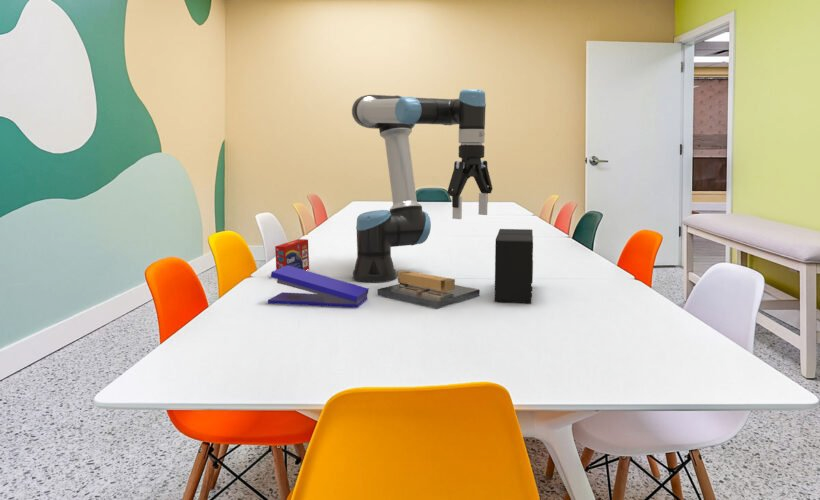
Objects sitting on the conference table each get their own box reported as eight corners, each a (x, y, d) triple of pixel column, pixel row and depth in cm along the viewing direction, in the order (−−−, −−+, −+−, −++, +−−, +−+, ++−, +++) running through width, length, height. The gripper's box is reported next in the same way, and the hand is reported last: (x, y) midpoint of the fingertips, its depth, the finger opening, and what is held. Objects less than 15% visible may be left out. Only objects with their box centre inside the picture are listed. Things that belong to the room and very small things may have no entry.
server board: (377, 295, 179) (377, 286, 179) (420, 284, 194) (420, 276, 194) (437, 308, 163) (437, 299, 163) (479, 295, 178) (479, 287, 177)
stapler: (283, 295, 181) (281, 264, 180) (369, 299, 175) (369, 267, 174) (266, 305, 170) (264, 272, 169) (358, 309, 164) (357, 275, 163)
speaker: (532, 304, 168) (533, 240, 165) (494, 302, 170) (495, 239, 167) (531, 285, 192) (533, 229, 189) (498, 284, 194) (499, 228, 191)
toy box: (299, 269, 222) (298, 239, 220) (309, 269, 221) (308, 239, 219) (276, 278, 205) (275, 246, 203) (286, 279, 204) (285, 246, 202)
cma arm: (395, 282, 183) (395, 272, 183) (404, 280, 186) (404, 270, 186) (446, 292, 170) (446, 281, 169) (454, 289, 172) (454, 279, 172)
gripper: (457, 144, 159) (456, 221, 163) (505, 144, 178) (503, 213, 181) (435, 144, 164) (434, 219, 167) (484, 144, 182) (482, 212, 186)
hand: (470, 216), depth 174 cm, fingers open, 13 cm apart
